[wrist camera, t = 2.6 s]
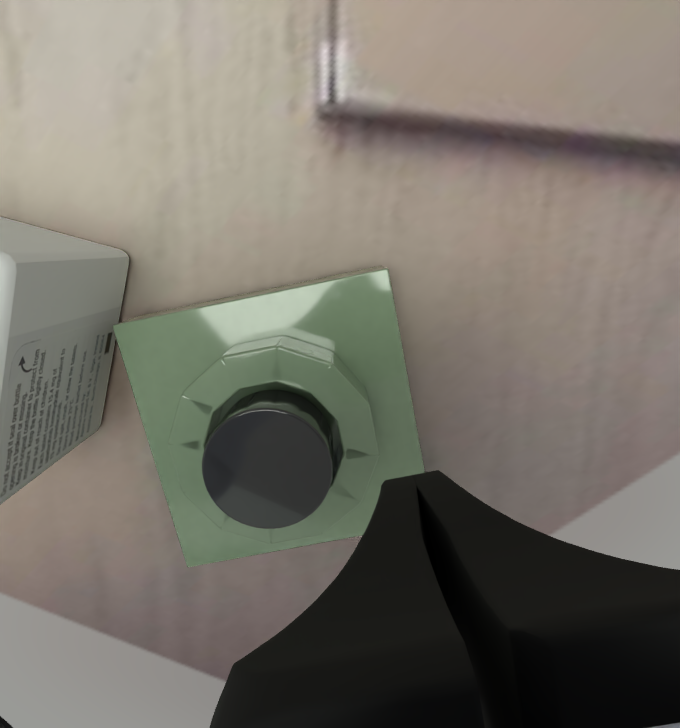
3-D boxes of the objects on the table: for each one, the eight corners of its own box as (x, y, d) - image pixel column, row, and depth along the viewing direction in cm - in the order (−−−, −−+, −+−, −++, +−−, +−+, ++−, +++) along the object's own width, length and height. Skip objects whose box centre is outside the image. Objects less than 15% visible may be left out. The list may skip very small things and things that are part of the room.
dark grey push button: (343, 486, 18) (344, 517, 16) (233, 507, 18) (220, 540, 16) (320, 378, 17) (317, 396, 15) (203, 401, 17) (185, 422, 15)
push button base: (423, 492, 22) (444, 553, 18) (203, 533, 23) (170, 602, 18) (382, 265, 20) (394, 271, 16) (138, 315, 20) (83, 334, 16)
